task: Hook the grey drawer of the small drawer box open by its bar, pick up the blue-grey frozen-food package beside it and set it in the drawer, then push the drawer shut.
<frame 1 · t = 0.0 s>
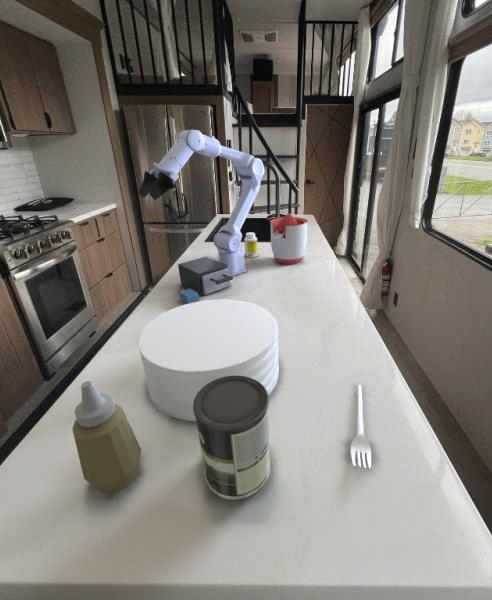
hand: (146, 196, 97), 32 cm above the table, tool tilted 50°, fingers open, 7 cm apart
supplement bottle: (251, 256, 147), on the table
plate stack: (215, 373, 72), on the table
small drawer box: (205, 285, 117), on the table
citrus juicer: (287, 261, 139), on the table
fork: (360, 425, 58), on the table
grey drawer: (211, 278, 112), point 4 cm above the table, slide at 0.5 cm
squeeze bottle: (118, 476, 50), on the table
coffee can: (238, 469, 51), on the table
package: (189, 302, 105), on the table
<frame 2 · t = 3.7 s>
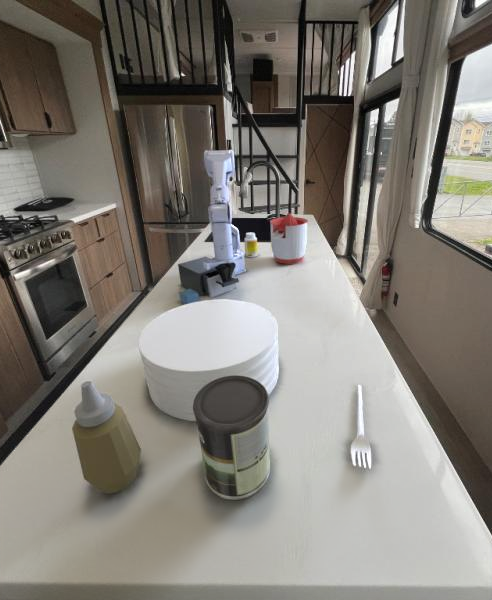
hand: (226, 284, 106), 4 cm above the table, tool pointing down, fingers closed, pressing on grey drawer
grey drawer: (216, 280, 110), point 4 cm above the table, slide at 3.8 cm, touching gripper
everything else where it was.
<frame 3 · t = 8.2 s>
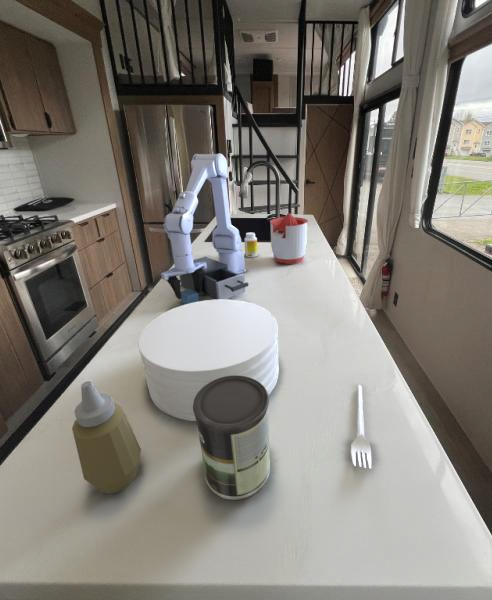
hand: (188, 294, 103), 3 cm above the table, tool pointing down, fingers open, 6 cm apart
grey drawer: (224, 284, 107), point 4 cm above the table, slide at 8.6 cm
everything else where it was.
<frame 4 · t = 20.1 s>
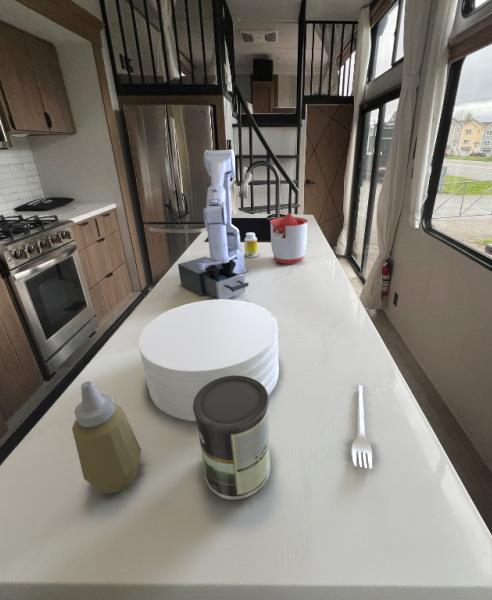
hand: (222, 284, 108), 4 cm above the table, tool pointing down, fingers closed on package, 4 cm apart
package: (222, 288, 108), point 2 cm above the table, touching gripper
everything else where it was.
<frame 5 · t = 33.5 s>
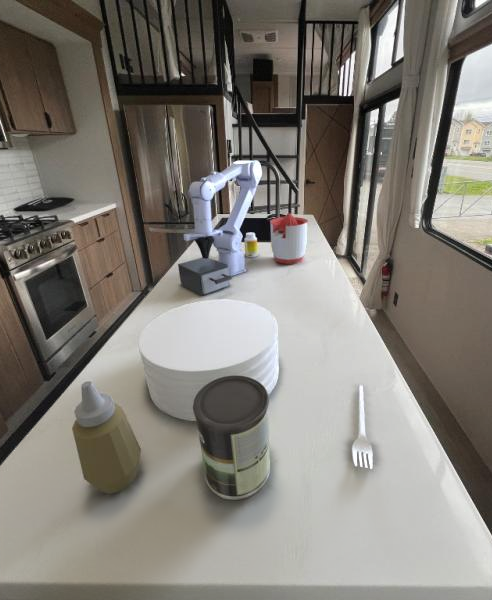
hand: (205, 258, 115), 9 cm above the table, tool pointing down, fingers closed
grey drawer: (210, 278, 112), point 4 cm above the table, slide at 0.0 cm, touching small drawer box, package
package: (208, 282, 114), point 2 cm above the table, touching grey drawer
everything else where it was.
at the end: grey drawer pulled out 8.6 cm at the most during the clip, back to where it started at the end; package inside the target area in the small drawer box (1.5 cm from its centre), point 2.0 cm above the small drawer box's base; grey drawer slide at 0.0 cm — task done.
